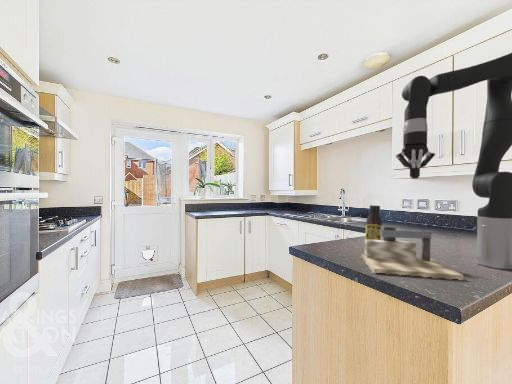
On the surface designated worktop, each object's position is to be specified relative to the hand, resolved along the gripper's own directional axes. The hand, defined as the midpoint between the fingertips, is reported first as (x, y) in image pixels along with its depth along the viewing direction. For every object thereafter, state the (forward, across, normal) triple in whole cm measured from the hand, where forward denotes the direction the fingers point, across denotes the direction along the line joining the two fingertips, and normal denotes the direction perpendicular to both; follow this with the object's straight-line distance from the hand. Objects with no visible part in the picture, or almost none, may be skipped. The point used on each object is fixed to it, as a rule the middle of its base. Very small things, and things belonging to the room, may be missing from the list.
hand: (414, 178), depth 90 cm
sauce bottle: (+31, +11, -12) cm, 35 cm away
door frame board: (+31, +7, +11) cm, 34 cm away
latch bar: (+22, +5, +5) cm, 23 cm away
